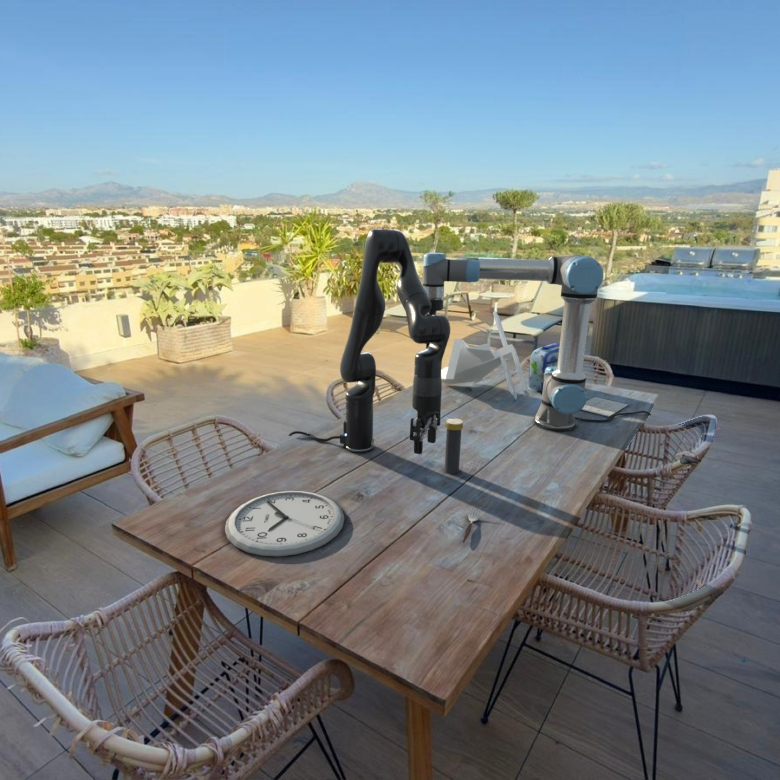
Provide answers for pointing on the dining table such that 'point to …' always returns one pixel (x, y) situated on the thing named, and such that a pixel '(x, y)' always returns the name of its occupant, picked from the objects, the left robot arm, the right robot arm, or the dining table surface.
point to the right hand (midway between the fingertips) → (430, 357)
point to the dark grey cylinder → (452, 451)
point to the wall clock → (284, 523)
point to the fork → (472, 519)
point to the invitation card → (603, 406)
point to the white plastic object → (482, 362)
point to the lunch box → (542, 364)
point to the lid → (454, 424)
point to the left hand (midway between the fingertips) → (424, 447)
